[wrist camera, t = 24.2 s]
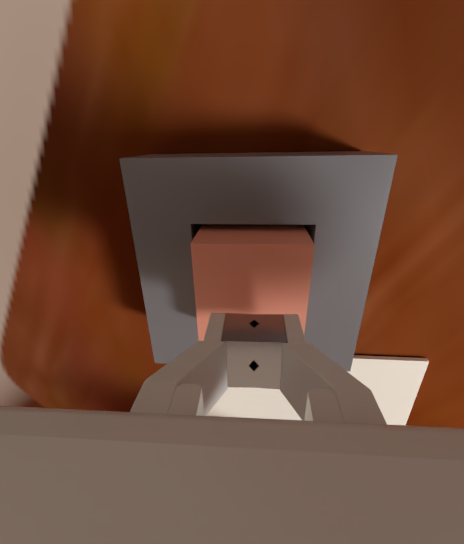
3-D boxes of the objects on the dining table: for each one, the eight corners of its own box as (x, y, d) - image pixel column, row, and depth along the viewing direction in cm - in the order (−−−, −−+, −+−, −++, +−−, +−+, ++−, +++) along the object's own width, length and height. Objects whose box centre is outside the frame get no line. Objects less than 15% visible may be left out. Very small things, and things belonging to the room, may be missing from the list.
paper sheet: (175, 348, 19) (174, 352, 18) (426, 358, 18) (429, 362, 17) (196, 509, 27) (195, 514, 27) (366, 523, 26) (367, 528, 26)
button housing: (150, 154, 14) (119, 158, 10) (362, 151, 13) (397, 154, 10) (172, 323, 18) (154, 363, 15) (332, 328, 17) (350, 371, 14)
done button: (204, 221, 13) (190, 243, 10) (301, 221, 12) (314, 244, 10) (209, 303, 15) (198, 340, 12) (294, 306, 14) (302, 344, 12)
